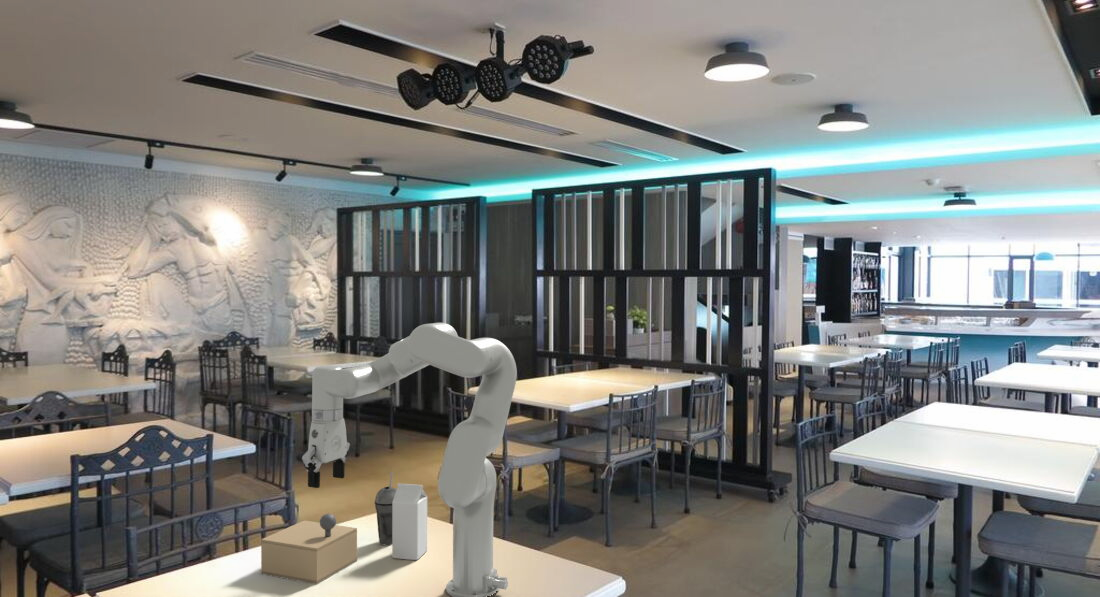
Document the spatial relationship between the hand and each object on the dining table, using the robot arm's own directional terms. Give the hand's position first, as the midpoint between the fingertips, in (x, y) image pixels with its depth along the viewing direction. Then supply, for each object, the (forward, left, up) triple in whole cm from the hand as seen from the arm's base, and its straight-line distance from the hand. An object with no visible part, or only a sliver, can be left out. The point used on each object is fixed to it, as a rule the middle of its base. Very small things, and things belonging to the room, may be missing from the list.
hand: (326, 482), depth 185 cm
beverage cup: (-3, -23, -23) cm, 32 cm away
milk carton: (-14, -17, -23) cm, 32 cm away
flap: (+5, 0, -14) cm, 15 cm away
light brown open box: (+5, 0, -22) cm, 23 cm away
